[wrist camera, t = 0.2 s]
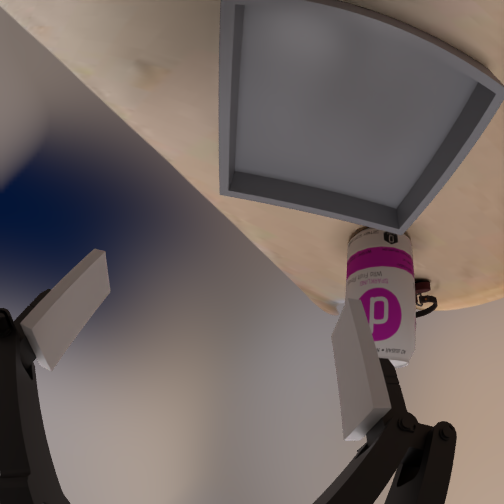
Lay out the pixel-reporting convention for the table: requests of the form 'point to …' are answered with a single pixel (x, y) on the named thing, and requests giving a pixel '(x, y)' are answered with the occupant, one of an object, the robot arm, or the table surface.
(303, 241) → the table surface
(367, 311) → the supplement can
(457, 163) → the tray
